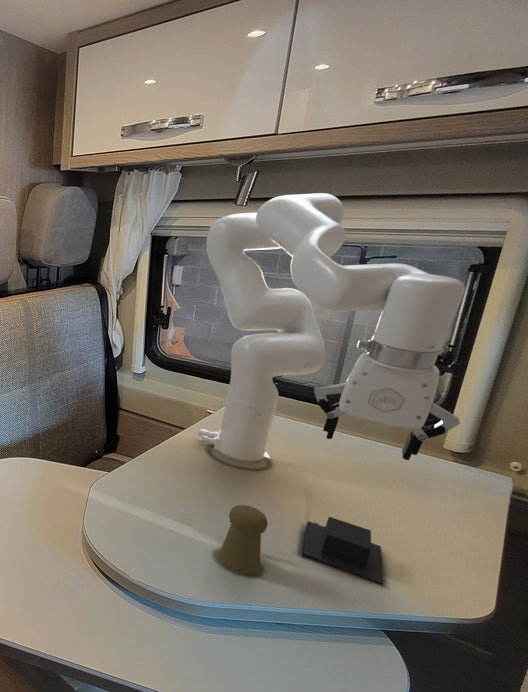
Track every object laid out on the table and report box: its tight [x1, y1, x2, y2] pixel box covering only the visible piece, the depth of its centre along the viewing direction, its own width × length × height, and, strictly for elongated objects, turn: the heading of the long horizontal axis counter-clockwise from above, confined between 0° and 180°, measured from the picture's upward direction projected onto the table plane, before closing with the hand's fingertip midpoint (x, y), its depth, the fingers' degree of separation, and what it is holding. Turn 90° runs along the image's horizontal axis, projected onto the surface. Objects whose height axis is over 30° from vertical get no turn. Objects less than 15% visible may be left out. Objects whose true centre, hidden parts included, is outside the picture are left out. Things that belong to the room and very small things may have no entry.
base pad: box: [301, 520, 383, 586], centre depth 78 cm, size 10×10×2 cm
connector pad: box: [321, 516, 372, 568], centre depth 78 cm, size 6×6×4 cm
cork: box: [217, 504, 269, 576], centre depth 76 cm, size 6×6×11 cm
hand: (365, 445), depth 78 cm, fingers open, 9 cm apart
